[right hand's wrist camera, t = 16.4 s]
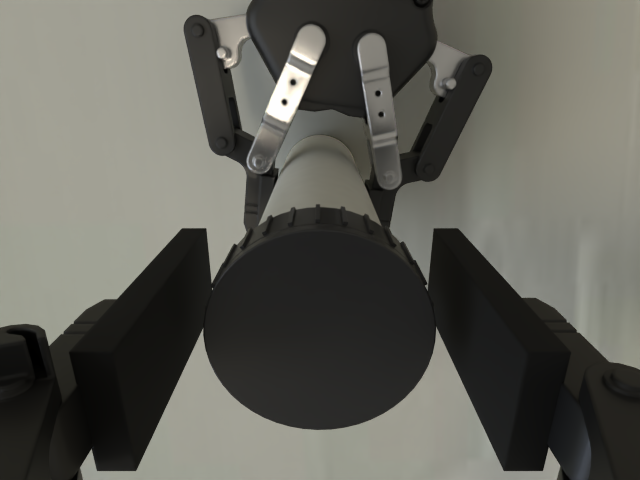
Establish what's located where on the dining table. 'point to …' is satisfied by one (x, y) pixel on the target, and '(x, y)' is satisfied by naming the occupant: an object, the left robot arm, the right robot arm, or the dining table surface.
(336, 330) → the lid
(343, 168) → the white cylindrical bottle
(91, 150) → the dining table surface
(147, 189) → the dining table surface
